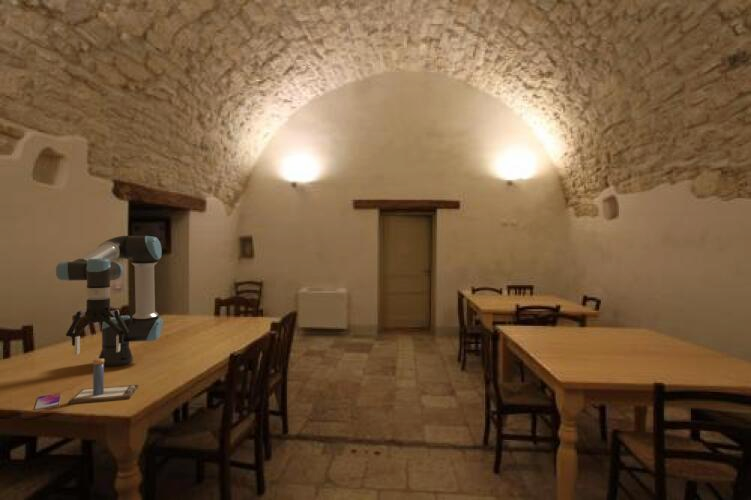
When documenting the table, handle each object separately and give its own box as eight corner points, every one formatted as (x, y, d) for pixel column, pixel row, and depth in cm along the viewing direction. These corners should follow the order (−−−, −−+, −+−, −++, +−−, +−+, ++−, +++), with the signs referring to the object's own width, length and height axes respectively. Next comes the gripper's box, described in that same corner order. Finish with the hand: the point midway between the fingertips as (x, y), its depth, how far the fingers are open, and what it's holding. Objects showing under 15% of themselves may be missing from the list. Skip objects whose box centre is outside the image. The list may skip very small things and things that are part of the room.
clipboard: (81, 391, 163) (82, 386, 163) (138, 387, 170) (138, 382, 170) (68, 404, 150) (68, 399, 150) (129, 398, 156) (129, 393, 156)
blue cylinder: (93, 393, 158) (94, 358, 158) (104, 391, 160) (105, 358, 160) (91, 396, 155) (92, 361, 155) (102, 394, 157) (103, 360, 157)
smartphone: (33, 409, 144) (37, 396, 156) (33, 412, 144) (37, 398, 156) (59, 404, 148) (61, 392, 160) (59, 407, 148) (61, 394, 160)
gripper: (55, 300, 149) (55, 357, 149) (132, 298, 157) (132, 352, 157) (64, 297, 156) (63, 352, 156) (137, 296, 164) (136, 347, 164)
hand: (98, 352), depth 157 cm, fingers open, 13 cm apart
